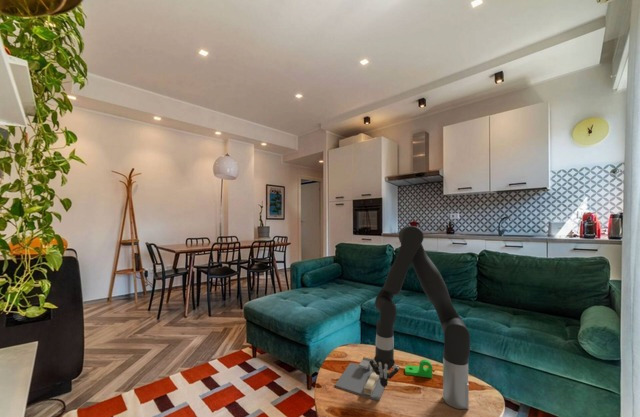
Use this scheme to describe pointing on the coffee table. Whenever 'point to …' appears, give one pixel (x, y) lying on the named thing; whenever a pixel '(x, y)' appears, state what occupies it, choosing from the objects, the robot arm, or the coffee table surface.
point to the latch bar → (371, 383)
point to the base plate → (358, 382)
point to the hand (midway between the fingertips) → (383, 385)
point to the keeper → (365, 364)
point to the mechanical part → (420, 369)
